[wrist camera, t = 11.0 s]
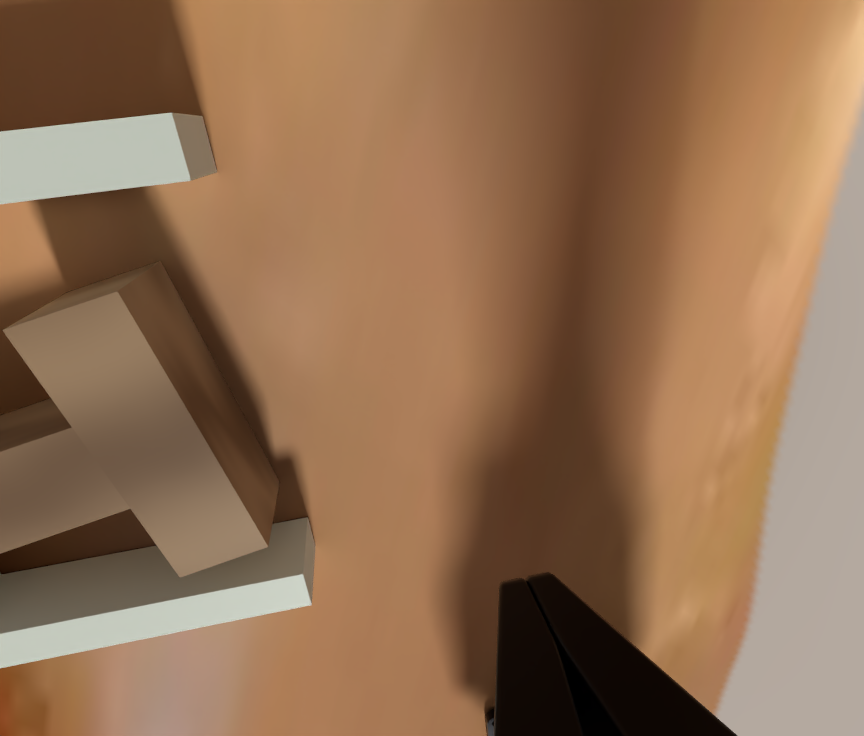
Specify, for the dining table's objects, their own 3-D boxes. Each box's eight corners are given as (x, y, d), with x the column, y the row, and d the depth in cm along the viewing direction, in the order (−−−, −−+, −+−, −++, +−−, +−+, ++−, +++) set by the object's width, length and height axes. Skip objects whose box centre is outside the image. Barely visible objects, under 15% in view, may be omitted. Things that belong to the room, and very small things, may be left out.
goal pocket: (315, 545, 22) (311, 605, 19) (-23, 610, 20) (-78, 683, 18) (202, 116, 15) (171, 112, 12) (-312, 173, 14) (-473, 184, 11)
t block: (279, 482, 20) (268, 547, 17) (54, 560, 20) (1, 640, 17) (160, 260, 16) (117, 291, 13) (-120, 354, 16) (-231, 408, 13)
